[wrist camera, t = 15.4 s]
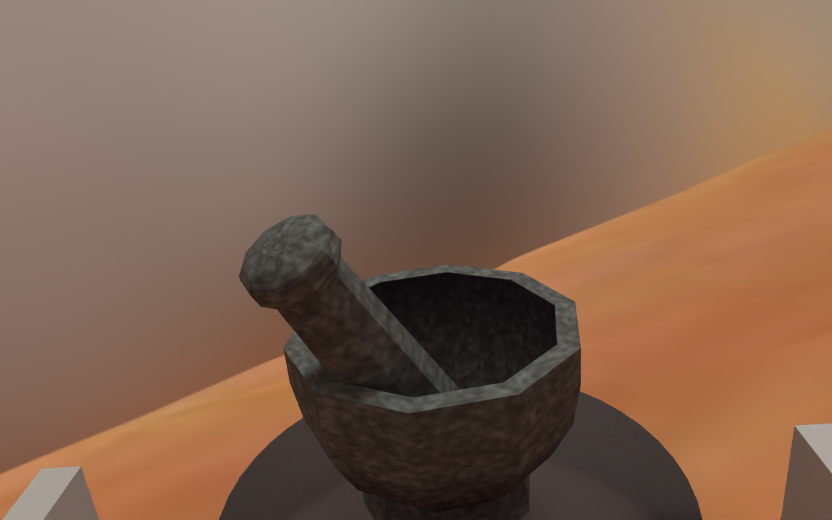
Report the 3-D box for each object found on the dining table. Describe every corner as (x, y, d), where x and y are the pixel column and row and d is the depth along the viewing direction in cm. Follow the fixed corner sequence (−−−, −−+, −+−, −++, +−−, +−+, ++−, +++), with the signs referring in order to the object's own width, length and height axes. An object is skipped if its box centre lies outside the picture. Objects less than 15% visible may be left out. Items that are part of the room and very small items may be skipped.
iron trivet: (757, 474, 27) (761, 442, 26) (568, 941, 15) (567, 901, 14) (409, 364, 37) (406, 340, 36) (121, 591, 25) (110, 560, 24)
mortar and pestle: (444, 385, 32) (422, 126, 27) (631, 471, 26) (643, 153, 21) (232, 526, 25) (153, 209, 20) (418, 693, 19) (364, 287, 14)
